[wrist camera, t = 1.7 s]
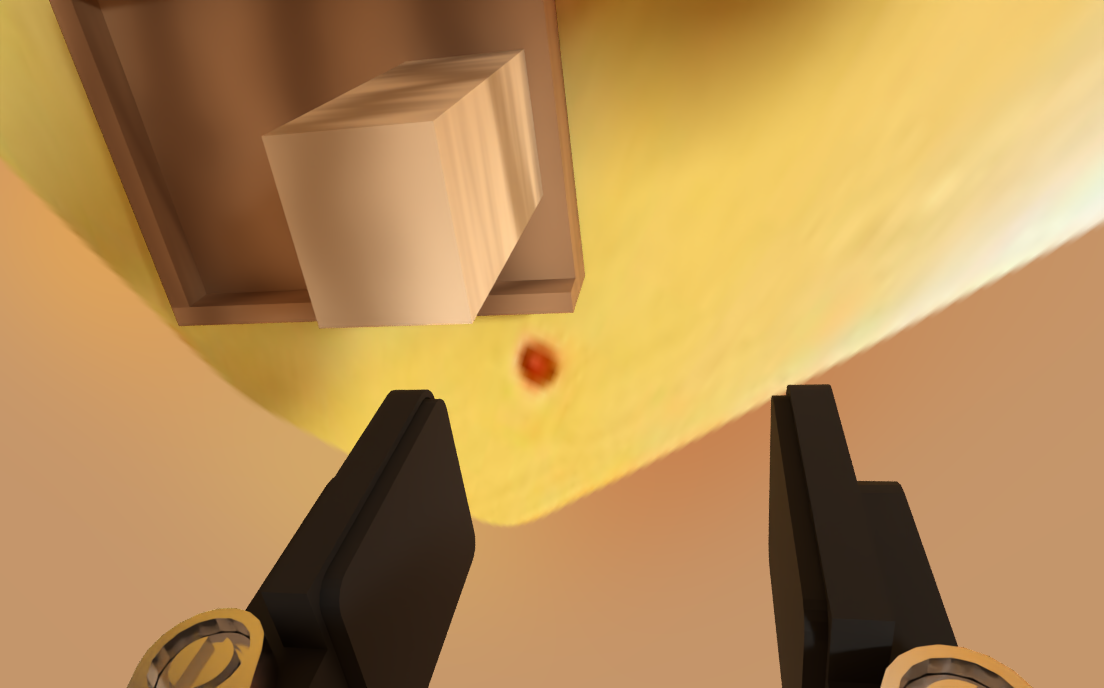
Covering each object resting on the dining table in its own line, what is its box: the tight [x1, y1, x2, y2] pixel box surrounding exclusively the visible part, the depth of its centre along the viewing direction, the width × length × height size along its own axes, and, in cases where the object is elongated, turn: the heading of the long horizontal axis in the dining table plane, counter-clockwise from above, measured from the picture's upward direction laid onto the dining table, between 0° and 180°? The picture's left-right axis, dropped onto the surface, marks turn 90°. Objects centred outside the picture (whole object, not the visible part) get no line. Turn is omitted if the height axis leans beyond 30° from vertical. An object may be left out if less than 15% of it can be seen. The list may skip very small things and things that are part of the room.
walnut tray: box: [49, 0, 585, 326], centre depth 34 cm, size 20×16×4 cm
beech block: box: [262, 49, 543, 328], centre depth 27 cm, size 5×6×12 cm
